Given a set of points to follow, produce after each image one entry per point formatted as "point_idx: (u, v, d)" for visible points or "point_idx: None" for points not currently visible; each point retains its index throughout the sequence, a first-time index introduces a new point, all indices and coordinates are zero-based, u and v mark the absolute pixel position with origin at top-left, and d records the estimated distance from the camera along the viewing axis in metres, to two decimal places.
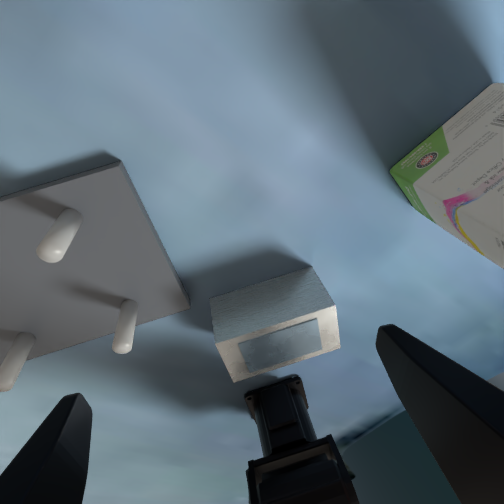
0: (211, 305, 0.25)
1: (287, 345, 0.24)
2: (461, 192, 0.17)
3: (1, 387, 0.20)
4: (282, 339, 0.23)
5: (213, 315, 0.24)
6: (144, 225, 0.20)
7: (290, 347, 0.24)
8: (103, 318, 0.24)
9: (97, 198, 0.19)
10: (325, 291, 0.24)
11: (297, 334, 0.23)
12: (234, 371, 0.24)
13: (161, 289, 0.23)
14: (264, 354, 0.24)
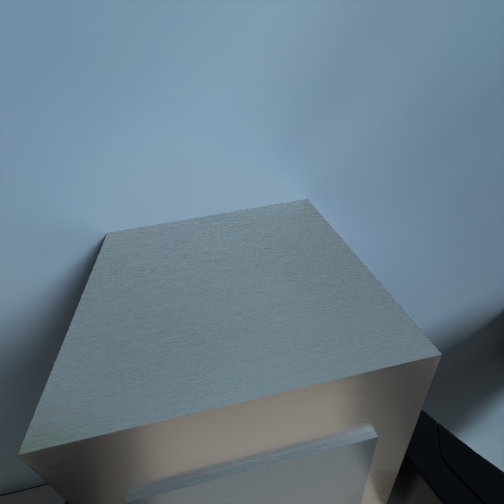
0: None
1: None
2: None
3: None
4: None
5: None
6: None
7: None
8: None
9: None
10: (66, 347, 0.05)
11: None
12: None
13: None
14: None
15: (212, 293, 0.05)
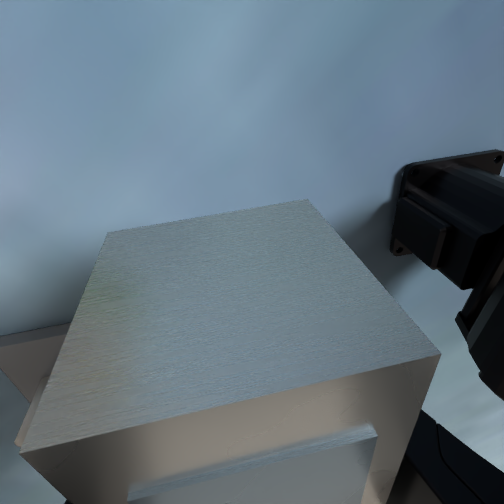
0: None
1: None
2: None
3: None
4: None
5: None
6: (56, 339, 0.20)
7: None
8: None
9: (26, 366, 0.20)
10: (67, 347, 0.05)
11: None
12: None
13: None
14: None
15: (213, 293, 0.05)
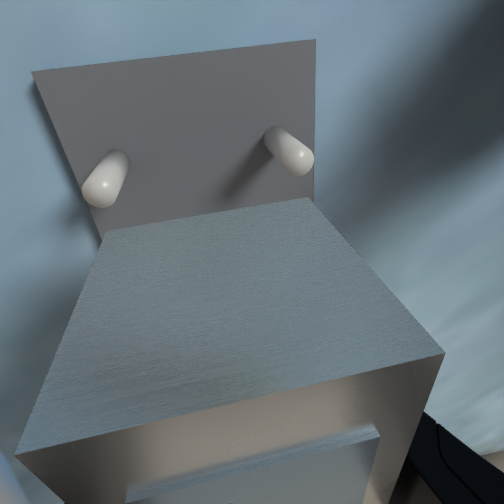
0: None
1: None
2: None
3: None
4: None
5: None
6: (134, 67, 0.13)
7: None
8: (284, 180, 0.17)
9: (88, 120, 0.14)
10: None
11: None
12: None
13: (260, 79, 0.14)
14: None
15: (212, 292, 0.05)
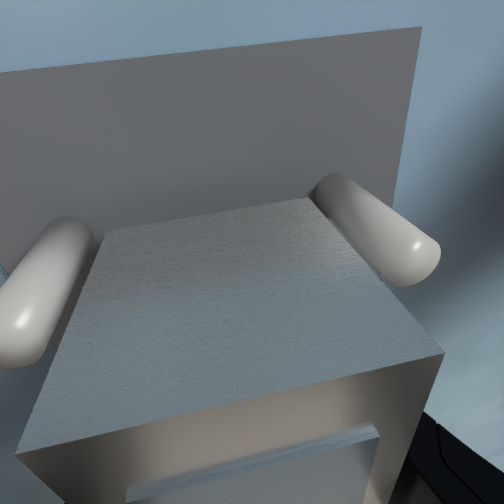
0: None
1: None
2: None
3: None
4: None
5: None
6: (92, 76, 0.07)
7: None
8: None
9: (10, 171, 0.08)
10: None
11: None
12: None
13: (319, 97, 0.08)
14: None
15: (213, 291, 0.05)
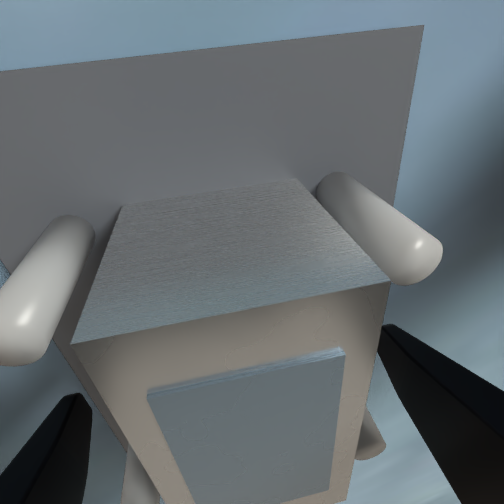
0: None
1: (262, 442, 0.07)
2: None
3: (373, 451, 0.11)
4: (225, 462, 0.07)
5: None
6: (94, 74, 0.07)
7: (278, 433, 0.07)
8: None
9: (13, 169, 0.08)
10: None
11: (218, 430, 0.06)
12: None
13: (321, 96, 0.08)
14: (271, 481, 0.08)
15: (214, 245, 0.06)
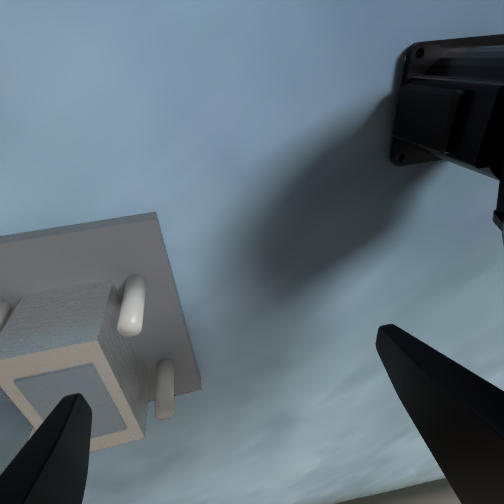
0: None
1: None
2: None
3: (167, 414, 0.21)
4: None
5: None
6: (3, 247, 0.17)
7: None
8: (152, 307, 0.21)
9: None
10: None
11: (50, 395, 0.16)
12: (120, 440, 0.19)
13: (114, 246, 0.18)
14: None
15: (49, 322, 0.16)
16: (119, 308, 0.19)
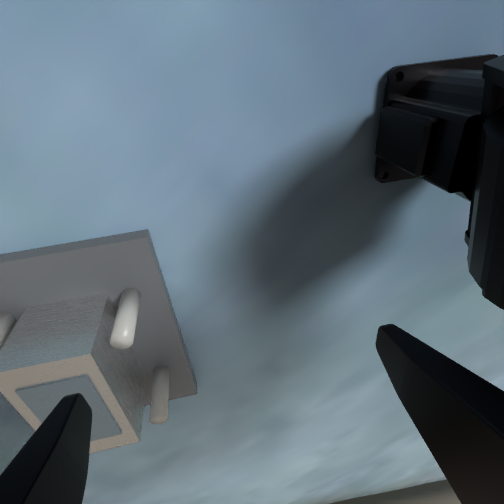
0: None
1: None
2: None
3: (161, 419, 0.22)
4: None
5: None
6: (6, 265, 0.18)
7: None
8: (147, 318, 0.22)
9: None
10: None
11: (50, 403, 0.17)
12: (117, 443, 0.21)
13: (108, 263, 0.19)
14: None
15: (48, 335, 0.17)
16: None
